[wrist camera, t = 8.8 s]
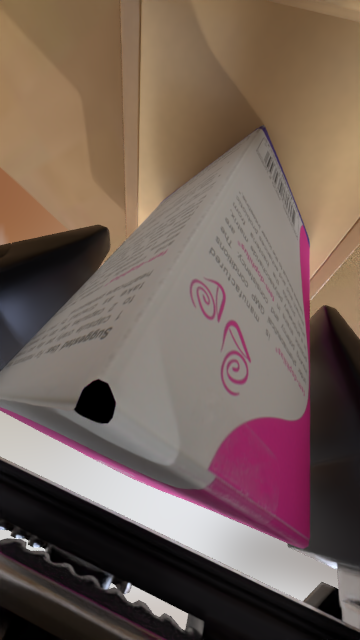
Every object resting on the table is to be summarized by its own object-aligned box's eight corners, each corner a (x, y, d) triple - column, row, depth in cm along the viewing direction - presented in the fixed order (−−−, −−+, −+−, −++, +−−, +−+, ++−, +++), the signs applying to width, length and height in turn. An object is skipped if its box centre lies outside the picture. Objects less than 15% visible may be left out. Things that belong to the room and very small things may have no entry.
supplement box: (157, 203, 12) (-41, 398, 5) (265, 120, 9) (90, 400, 1) (213, 283, 15) (132, 487, 8) (313, 246, 11) (335, 569, 4)
